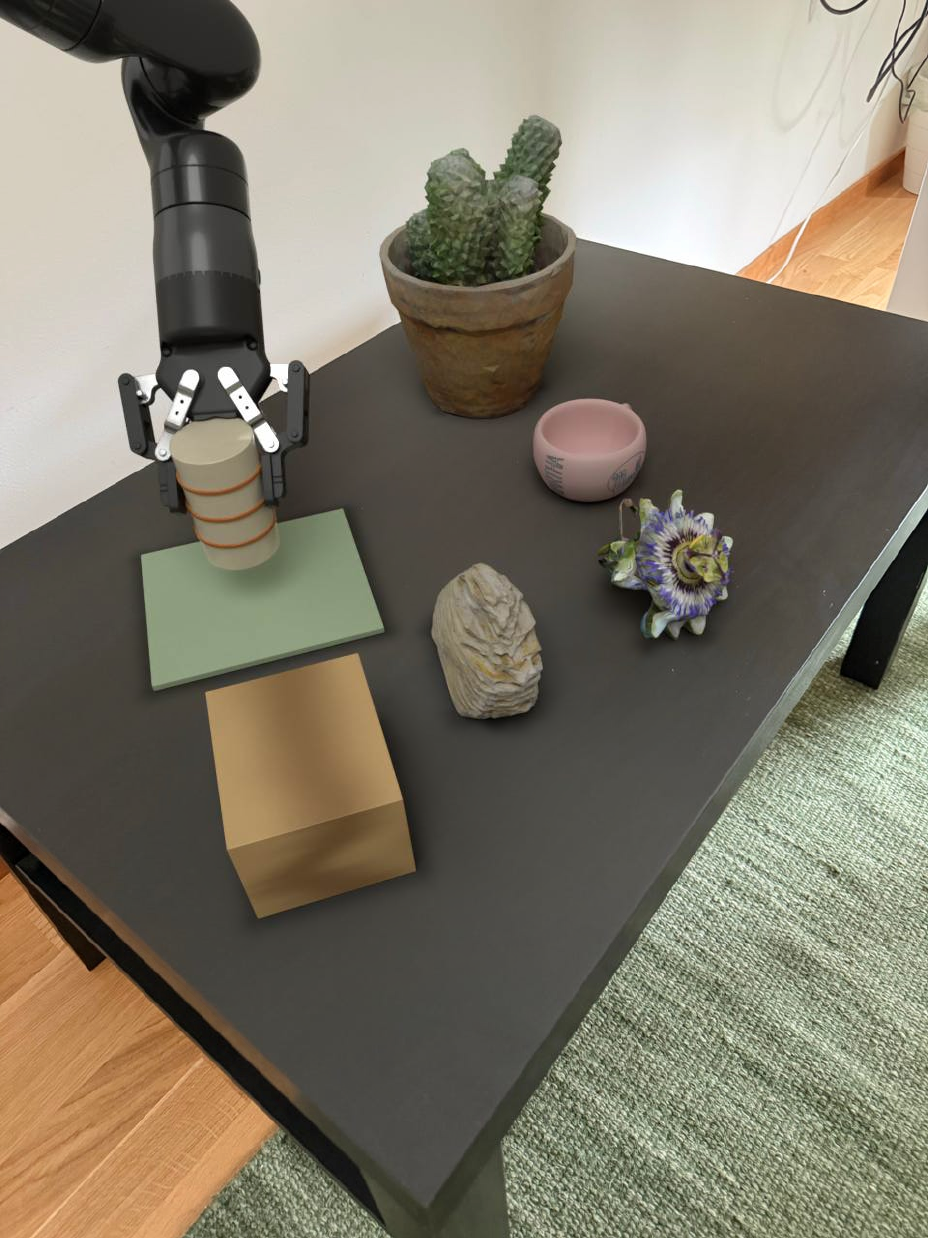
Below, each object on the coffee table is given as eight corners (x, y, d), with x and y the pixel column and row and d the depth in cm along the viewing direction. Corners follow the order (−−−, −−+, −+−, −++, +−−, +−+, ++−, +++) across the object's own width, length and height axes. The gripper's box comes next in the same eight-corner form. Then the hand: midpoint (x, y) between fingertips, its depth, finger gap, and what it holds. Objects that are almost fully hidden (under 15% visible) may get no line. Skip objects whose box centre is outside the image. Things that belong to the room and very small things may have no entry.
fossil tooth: (492, 615, 75) (563, 743, 64) (417, 633, 74) (477, 766, 63) (488, 493, 68) (568, 614, 57) (405, 510, 67) (471, 637, 56)
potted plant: (517, 459, 88) (511, 189, 71) (360, 411, 96) (319, 155, 78) (601, 369, 99) (615, 114, 81) (454, 332, 106) (437, 91, 89)
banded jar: (207, 580, 71) (169, 473, 64) (199, 530, 75) (163, 424, 68) (288, 560, 72) (260, 453, 65) (276, 512, 76) (249, 407, 69)
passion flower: (684, 674, 75) (681, 655, 64) (570, 608, 78) (548, 579, 67) (756, 556, 75) (766, 516, 64) (639, 494, 79) (629, 446, 67)
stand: (258, 919, 56) (226, 849, 51) (234, 766, 65) (205, 691, 59) (416, 871, 58) (403, 799, 52) (373, 728, 66) (358, 652, 61)
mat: (153, 691, 70) (151, 686, 70) (142, 559, 81) (140, 554, 81) (385, 632, 73) (384, 627, 73) (343, 513, 84) (343, 507, 84)
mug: (604, 529, 80) (607, 473, 76) (511, 490, 85) (510, 435, 81) (673, 461, 87) (680, 406, 82) (584, 428, 91) (586, 374, 87)
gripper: (90, 274, 65) (109, 512, 65) (295, 258, 65) (314, 496, 65) (129, 309, 72) (146, 523, 73) (313, 295, 72) (330, 508, 72)
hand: (225, 509), depth 69 cm, fingers closed on banded jar, 6 cm apart
